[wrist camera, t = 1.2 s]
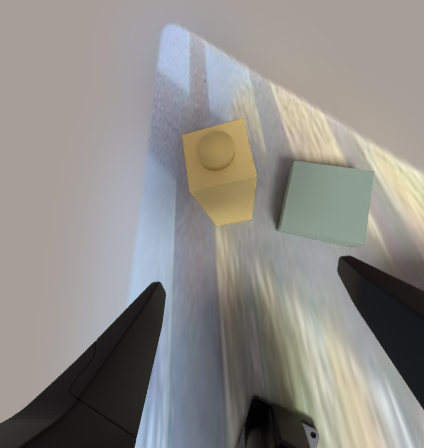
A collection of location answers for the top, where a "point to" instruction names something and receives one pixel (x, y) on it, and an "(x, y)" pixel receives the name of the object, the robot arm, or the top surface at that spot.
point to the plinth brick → (327, 203)
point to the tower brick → (221, 171)
